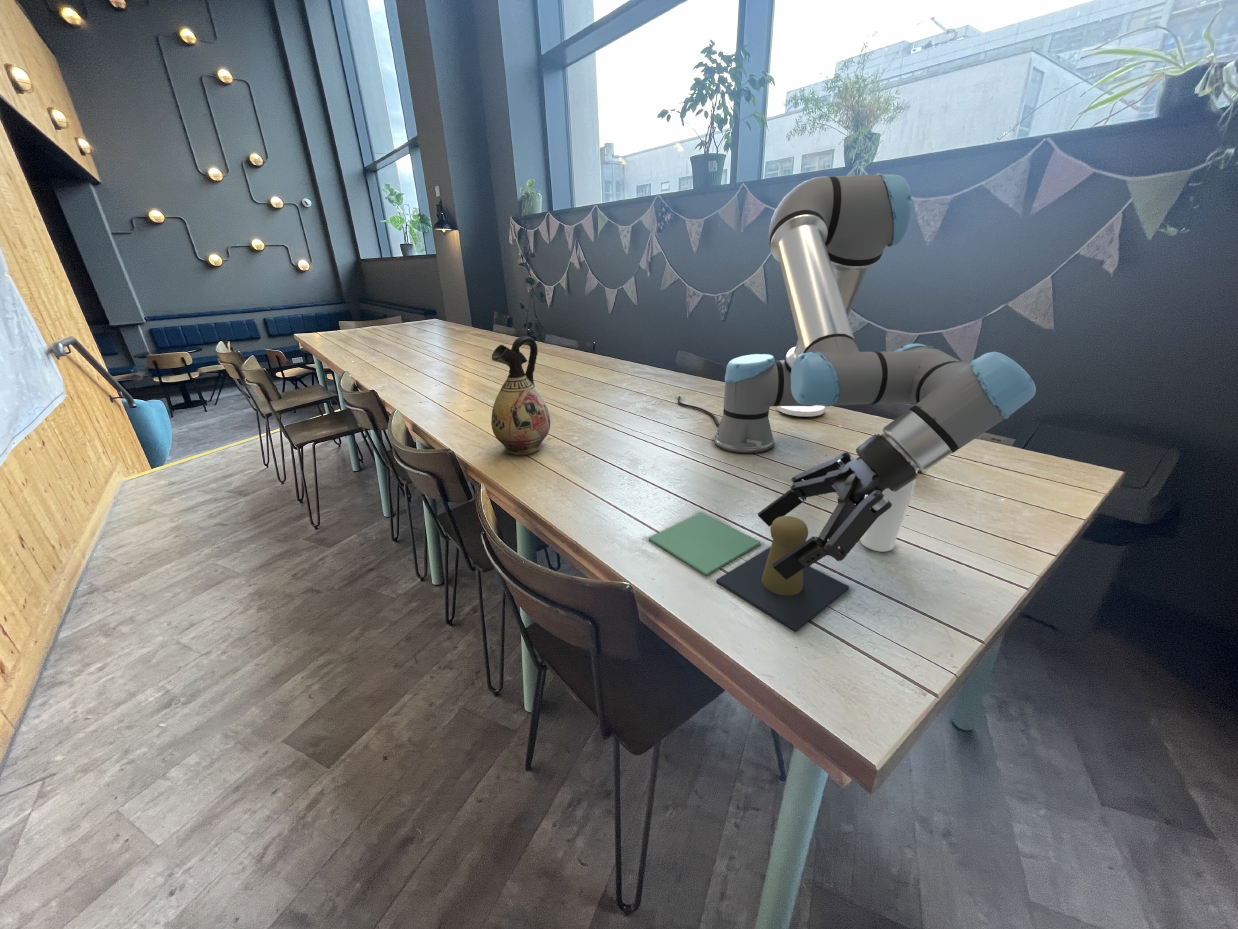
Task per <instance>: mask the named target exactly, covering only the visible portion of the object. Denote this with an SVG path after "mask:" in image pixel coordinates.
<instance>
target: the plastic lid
mask: <svg viewBox="0 0 1238 929" xmlns="http://www.w3.org/2000/svg"><path fill="white" fill-rule="evenodd" d="M825 409H826V406H817V405H816V406H809V407H808V406H777V410H778V412H780V413H782V414H786V415H789V416H795V417H816V416H821V415H823V414H825Z"/></svg>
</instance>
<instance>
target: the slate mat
mask: <svg viewBox="0 0 1238 929" xmlns="http://www.w3.org/2000/svg"><path fill="white" fill-rule="evenodd" d="M770 548H771V546H769V547H768V548H766V549H765V550H763V551H761V552H759V553H758V554H756V555H755V556H753V557H751V558H750V559H748V560H747V561H745V562H743V563H741V564H740V565H738V566H737V567H734V568H733V569H731V570H730V571H727V573H725V574H723V575H721V576H719V577H718V578H717V579H716V580H715V582H716V584H718V585H720V586H721V587H723V588H725V589H726V590H728V591H729V592H731V593H733V594H735V596H738V597H739V598H741V599H742V600H744V601H746V602H747V603H749V604H750V605H752V606H753V607H755V608H757V609H758V610H759V611H762V612H763V613H765V614H766V615H768V616H769V617H771V618H773V619H774V620H775V621H777V622H778V623H781V624H782V625H784V626H785V627H787V628H788V629H790V630H792V631H793V632H797V631H799V630H800V629H801V628H803V627H804V626H805V625H806V624H807V623H809V622H810V621H811V620H812V619H813V618H814V617H816V616H817V615H819V614H820V613H821V612H822V611H824V610H825V609H826V608H827V607H828V606H829V605H831V604H833V602H835V600H837V599H839V598H840V597H841V596H842V595H844V593H845V592H847V591H848V590H850V586H849V585H847V584H845V583H844V582H841V581H839V580H837V579H835V578H833V577H832V576H829V575H828V574H826V573H824V572H822V571H819V570H817V569H815V568H813V567H811V566H809V567H806V568H803V588H802V591H801V592H799V593H798V594H795V595H790V596H785V595H779V594H776V593H773V592H771V591H769V590H768V589H767V588H766V587H765V586H764V585H763V583H762V576H763V573H764V569H765V566H766V562H767V559H768V555H769V552H770Z"/></svg>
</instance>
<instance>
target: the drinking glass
mask: <svg viewBox="0 0 1238 929" xmlns="http://www.w3.org/2000/svg"><path fill="white" fill-rule="evenodd" d="M916 473H917V474H918V471H916ZM917 476H918V475H917ZM917 476H916V477H917ZM917 478H918V477H917ZM917 478H916V479H914V480H913V481H911V482H910V483H908V484H907V485H905V486H904V487H902V488H901V489H899V490H898V491H891V490H890V489H889V488H887V489H885V490H884V491H883V492H882V494H883V495H884V496H885V497H886V498H887V499H888V500H889V501H890V502H891V503H892V506H891V507H890V508H889V509H888V510H887V511H885V512H884V513H883V514H882V515H880V516H879V517H878V518H877V519H876V520H875V522H874V523H873V524H872V525H871V526H870V528H869V529H868V530H867V531H866V532H865V534H864V535H863V536H862V537H861V538H860V540H859V541H860V543H861V544H862V546H864V547H866V548H867V549H869V550H872V551H876V552H883V553H885V552H889V551H892V550H893V549H894V548H895V545H896V542H897V538H898V534H899V532H900V530H901V526H902V524H903V521H904V519H905V515H906V513H907V510H908V507H909V505H910V502H911V499H912V496H913V493H914V490H915V487H916V481H917Z"/></svg>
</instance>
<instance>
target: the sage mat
mask: <svg viewBox="0 0 1238 929" xmlns="http://www.w3.org/2000/svg"><path fill="white" fill-rule="evenodd" d="M648 541H650V542H651V543H653V544H655V545H656V546H658V547H660V548H661V549H662V550H664V551H666V552H668V553H669V554H671V555H672V556H674V557H675V558H677V559H679V560H680V561H682V562H683V563H685V564H687V565H688V566H690V567H691V568H693V569H694V570H696V571H698V572H699V573H701V574H703V575H704V576H706V577H708V576H709V575H710V574H712V573H714V572H716V571H718V570H719V569H721V568H723V567H724V566H726V565H728V564H730V563H731V562H733V561H734V560H736V559H738V558H740V557H741V556H743V555H744V554H745V555H746V553H749V552H750V551H751V550H753V549H755V548H757V547H758V546H760V545H761V544H762V542H761V540H758V539H756V538H754V537H752V536H750V535H749V534H748V535H747V534H746V533H744V532H742V531H740V530H738V529H735V528H733V527H732V526H730V525H727V524H726V523H723V522H722V521H720V520H718V519H715V518H713V517H712V516H710V515H707V514H705V513H704V512H700V513H698V514H696V515H693V516H691V517H689V518H687V519H684V520H683V521H680V522H678V523H676V524H674V525H672V526H670V527H668V528H666V529H664V530H662V531H659V532H657V533H655V534H653V535H651V536H649V537H648Z"/></svg>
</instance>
